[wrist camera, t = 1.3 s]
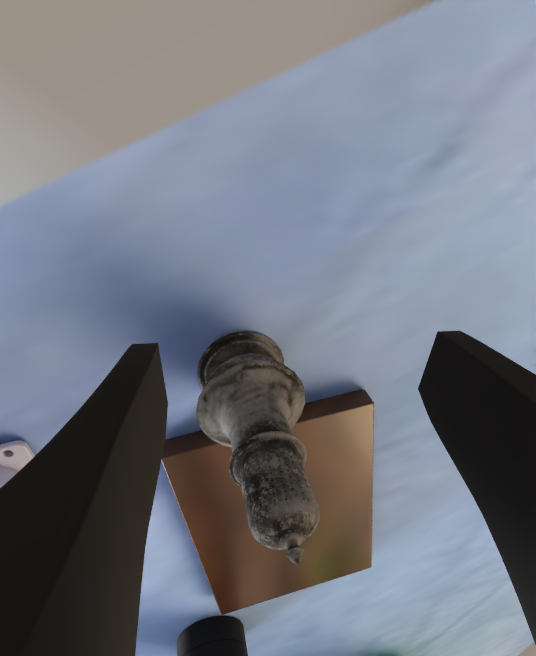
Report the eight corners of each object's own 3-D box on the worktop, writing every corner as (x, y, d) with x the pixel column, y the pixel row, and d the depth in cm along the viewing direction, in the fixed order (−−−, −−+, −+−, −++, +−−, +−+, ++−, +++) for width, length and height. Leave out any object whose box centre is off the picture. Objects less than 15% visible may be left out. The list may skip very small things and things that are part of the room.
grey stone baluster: (246, 307, 22) (315, 481, 12) (306, 366, 25) (403, 545, 15) (171, 373, 23) (175, 586, 13) (237, 421, 26) (284, 626, 16)
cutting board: (219, 597, 35) (221, 615, 34) (160, 441, 25) (159, 458, 24) (364, 551, 37) (371, 567, 36) (364, 388, 27) (374, 402, 26)
